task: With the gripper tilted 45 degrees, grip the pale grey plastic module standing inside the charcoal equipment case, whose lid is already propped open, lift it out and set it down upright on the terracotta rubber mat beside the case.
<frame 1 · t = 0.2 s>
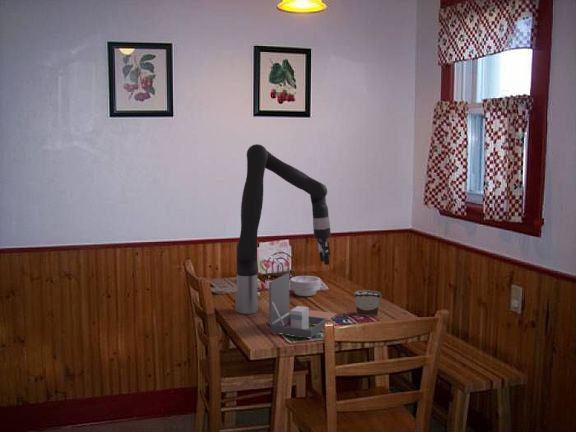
hand: (324, 262, 294), 22 cm above the table, tool pointing down, fingers open, 8 cm apart
food container: (367, 313, 293), on the table
equipment case: (299, 329, 270), on the table
terracotta mat: (316, 317, 286), on the table
cat figure: (254, 293, 327), on the table
paper bowls: (305, 294, 325), on the table
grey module: (299, 329, 270), resting in equipment case
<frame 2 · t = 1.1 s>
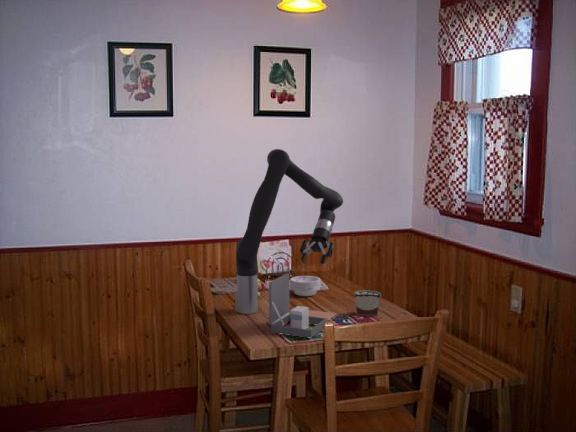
hand: (312, 262, 278), 26 cm above the table, tool tilted 45°, fingers open, 8 cm apart
nothing on the table moved.
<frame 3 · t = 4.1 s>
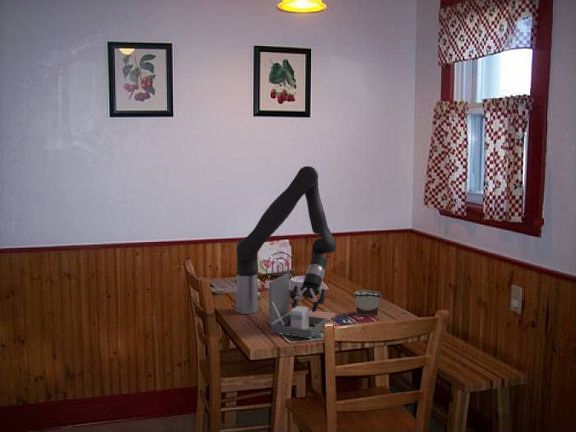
hand: (303, 310, 272), 7 cm above the table, tool tilted 45°, fingers open, 8 cm apart
nothing on the table moved.
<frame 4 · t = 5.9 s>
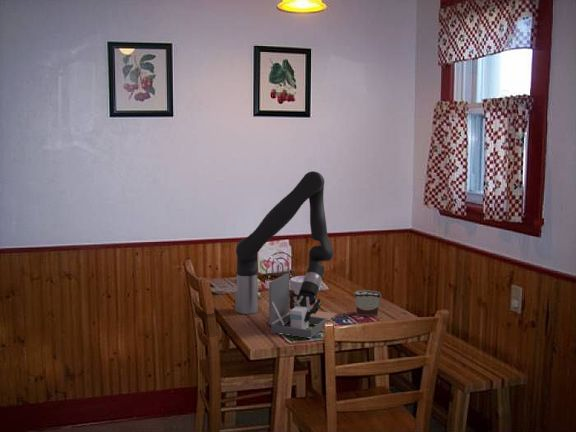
hand: (299, 320, 269), 4 cm above the table, tool tilted 45°, fingers closed on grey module, 5 cm apart
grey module: (299, 329, 270), resting in equipment case, touching gripper
everything else where it was.
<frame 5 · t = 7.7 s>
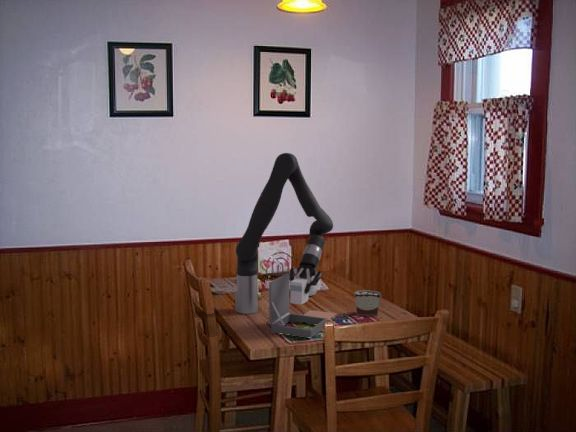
hand: (299, 291, 267), 16 cm above the table, tool tilted 45°, fingers closed on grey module, 5 cm apart
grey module: (299, 301, 268), point 12 cm above the table, touching gripper
everything else where it was.
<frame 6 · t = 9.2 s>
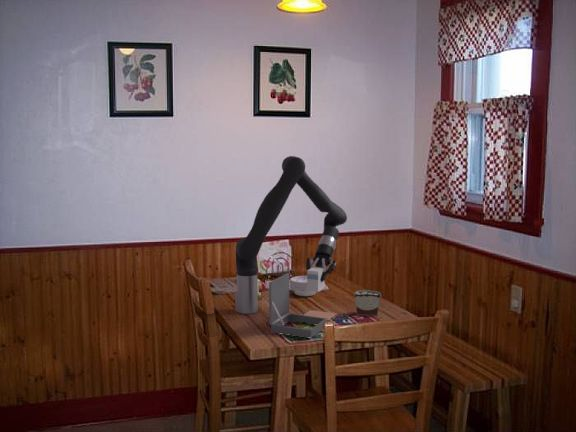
hand: (315, 280, 282), 17 cm above the table, tool tilted 45°, fingers closed on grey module, 5 cm apart
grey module: (315, 289, 283), point 13 cm above the table, touching gripper
everything else where it was.
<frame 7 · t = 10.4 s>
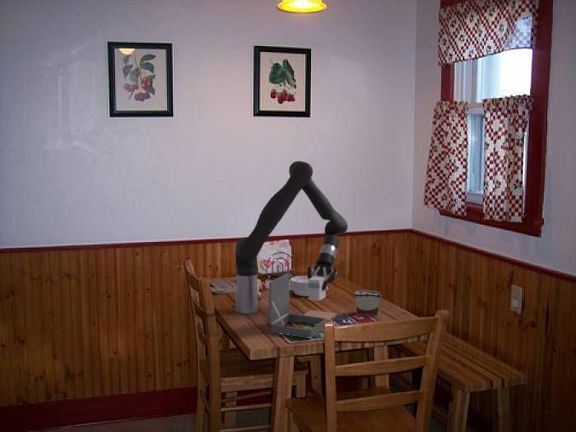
hand: (316, 289, 284), 13 cm above the table, tool tilted 45°, fingers closed on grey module, 5 cm apart
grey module: (317, 298, 285), point 9 cm above the table, touching gripper
when the fingers open (6 cm above the table, at t = 12.0 s): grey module drops 1 cm, resting on terracotta mat.
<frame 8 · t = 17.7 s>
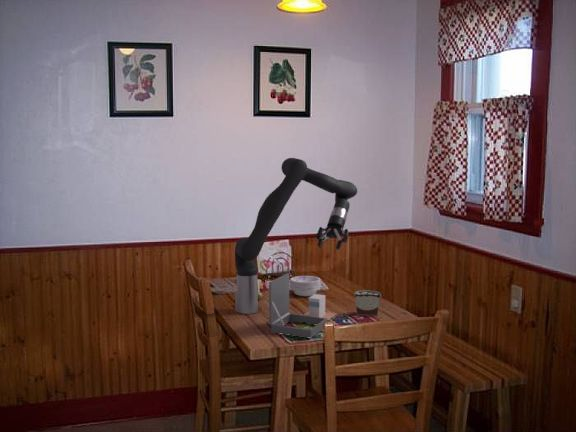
hand: (328, 248, 294), 29 cm above the table, tool tilted 45°, fingers open, 8 cm apart
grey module: (316, 316, 286), resting on terracotta mat
at the end: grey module inside the target area on the terracotta mat (0.2 cm from its centre), point 0.4 cm above the terracotta mat's base; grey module tilted 0°; the gripper is holding nothing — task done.
